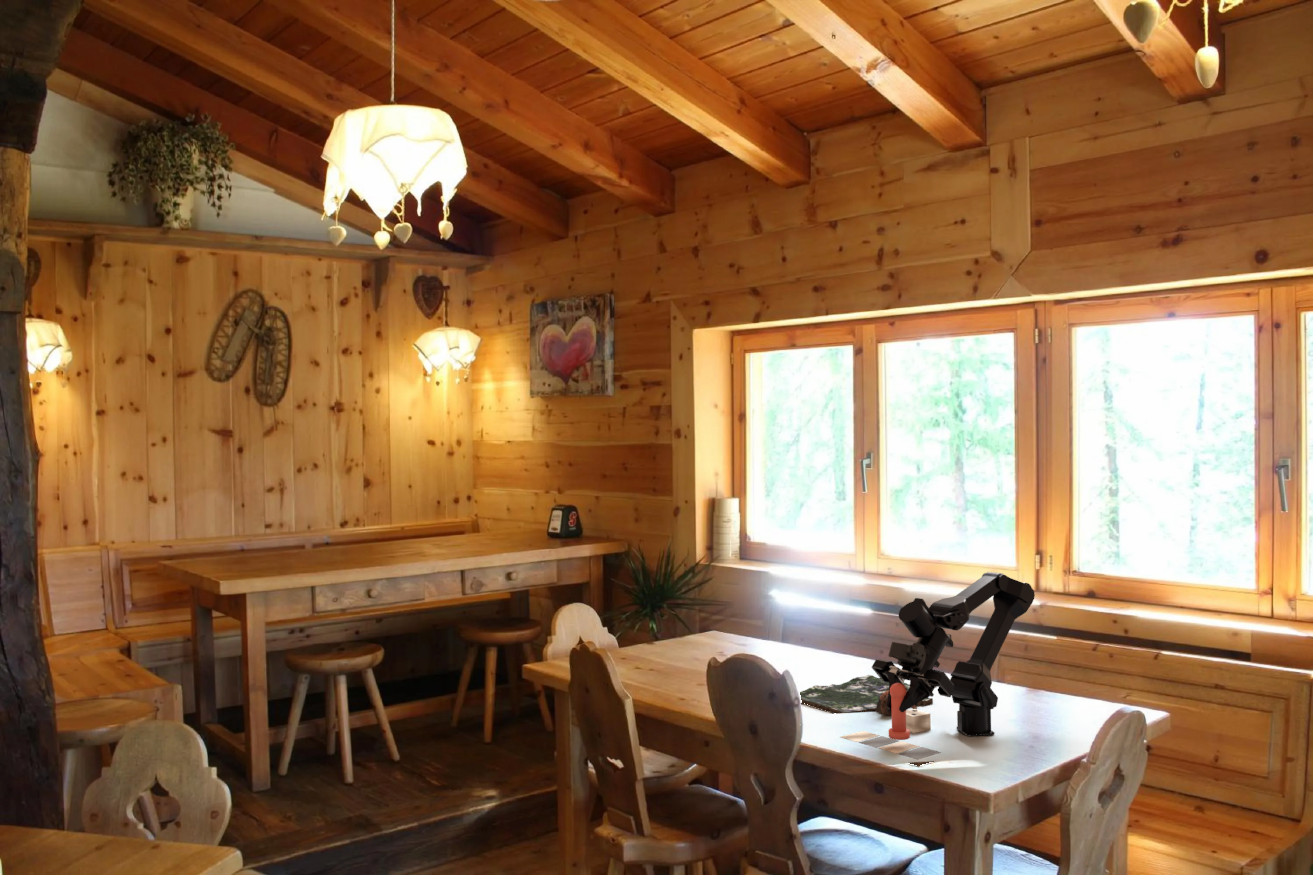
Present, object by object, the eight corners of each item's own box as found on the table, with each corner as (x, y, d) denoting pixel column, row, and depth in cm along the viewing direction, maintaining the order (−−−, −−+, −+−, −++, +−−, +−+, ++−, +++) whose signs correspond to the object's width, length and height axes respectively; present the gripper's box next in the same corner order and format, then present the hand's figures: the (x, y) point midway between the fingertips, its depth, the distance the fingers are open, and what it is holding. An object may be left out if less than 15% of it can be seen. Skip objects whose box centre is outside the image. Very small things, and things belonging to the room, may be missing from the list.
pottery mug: (878, 712, 258) (894, 683, 258) (910, 734, 253) (927, 705, 252) (862, 710, 248) (880, 680, 248) (896, 733, 243) (914, 702, 242)
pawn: (899, 732, 225) (898, 679, 225) (914, 737, 221) (913, 683, 221) (884, 736, 222) (883, 682, 222) (898, 740, 219) (897, 686, 219)
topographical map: (786, 700, 271) (786, 689, 271) (878, 683, 288) (878, 673, 288) (855, 722, 249) (854, 709, 249) (950, 702, 266) (950, 690, 266)
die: (915, 730, 239) (915, 708, 239) (930, 735, 235) (930, 713, 235) (898, 733, 237) (898, 711, 237) (913, 738, 232) (913, 716, 233)
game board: (835, 742, 230) (835, 736, 230) (862, 735, 236) (862, 729, 236) (918, 766, 212) (918, 760, 212) (946, 758, 217) (946, 752, 217)
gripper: (876, 622, 232) (842, 679, 225) (944, 633, 217) (910, 694, 210) (900, 652, 236) (868, 709, 230) (968, 665, 221) (936, 726, 215)
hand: (894, 709), depth 221 cm, fingers closed on pawn, 3 cm apart
